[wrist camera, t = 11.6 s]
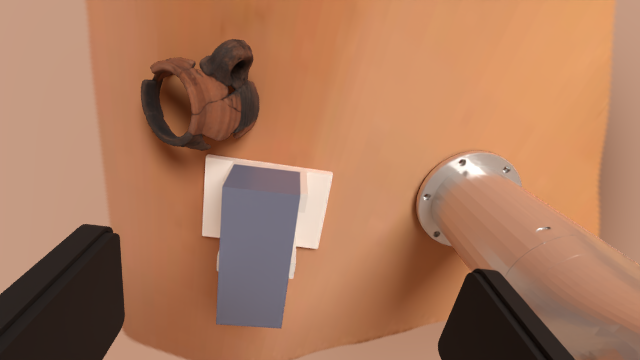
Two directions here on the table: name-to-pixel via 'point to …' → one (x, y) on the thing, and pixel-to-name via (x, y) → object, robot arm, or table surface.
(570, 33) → the table surface
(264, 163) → the display stand
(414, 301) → the table surface
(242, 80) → the pottery mug
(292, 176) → the blue-grey rectangular block
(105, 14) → the table surface
